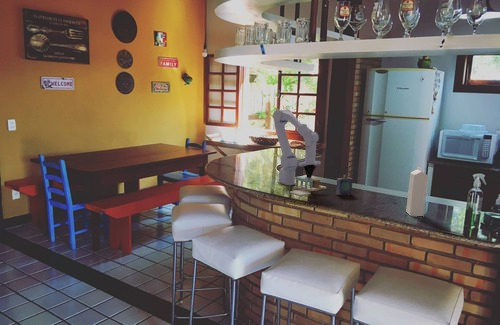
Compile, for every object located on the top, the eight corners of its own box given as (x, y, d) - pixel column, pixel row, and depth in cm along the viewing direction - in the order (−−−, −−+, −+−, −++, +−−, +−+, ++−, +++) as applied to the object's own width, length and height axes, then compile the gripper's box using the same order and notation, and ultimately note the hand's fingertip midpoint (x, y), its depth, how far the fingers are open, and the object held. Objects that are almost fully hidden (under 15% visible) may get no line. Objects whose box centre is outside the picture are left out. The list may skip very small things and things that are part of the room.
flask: (337, 195, 209) (338, 175, 207) (334, 194, 211) (335, 174, 210) (352, 195, 212) (354, 175, 210) (349, 193, 214) (350, 174, 213)
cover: (295, 186, 220) (295, 176, 220) (301, 185, 224) (302, 175, 223) (305, 189, 214) (306, 179, 213) (312, 188, 217) (312, 178, 217)
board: (293, 188, 221) (293, 186, 221) (313, 185, 231) (313, 183, 231) (306, 192, 213) (306, 190, 213) (326, 188, 224) (326, 186, 224)
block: (309, 187, 225) (309, 179, 224) (314, 186, 228) (314, 178, 227) (314, 189, 222) (315, 180, 221) (319, 188, 224) (320, 179, 224)
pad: (289, 192, 211) (289, 191, 211) (300, 190, 216) (300, 189, 216) (300, 195, 205) (300, 194, 205) (310, 194, 210) (310, 192, 210)
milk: (409, 216, 177) (414, 168, 173) (405, 212, 183) (410, 165, 179) (423, 217, 176) (429, 168, 172) (419, 213, 182) (424, 166, 178)
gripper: (305, 155, 211) (303, 180, 213) (325, 154, 219) (323, 178, 221) (296, 154, 217) (295, 178, 219) (316, 152, 225) (314, 176, 227)
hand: (308, 178), depth 220 cm, fingers closed
